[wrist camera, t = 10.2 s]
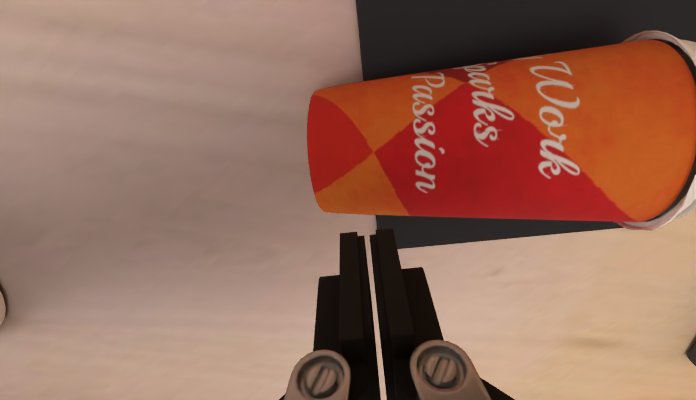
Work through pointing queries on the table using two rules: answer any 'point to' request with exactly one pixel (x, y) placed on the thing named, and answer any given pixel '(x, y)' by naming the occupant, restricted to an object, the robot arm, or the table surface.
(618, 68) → the coffee cup
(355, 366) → the robot arm
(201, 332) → the table surface
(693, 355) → the calculator
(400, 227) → the mat
